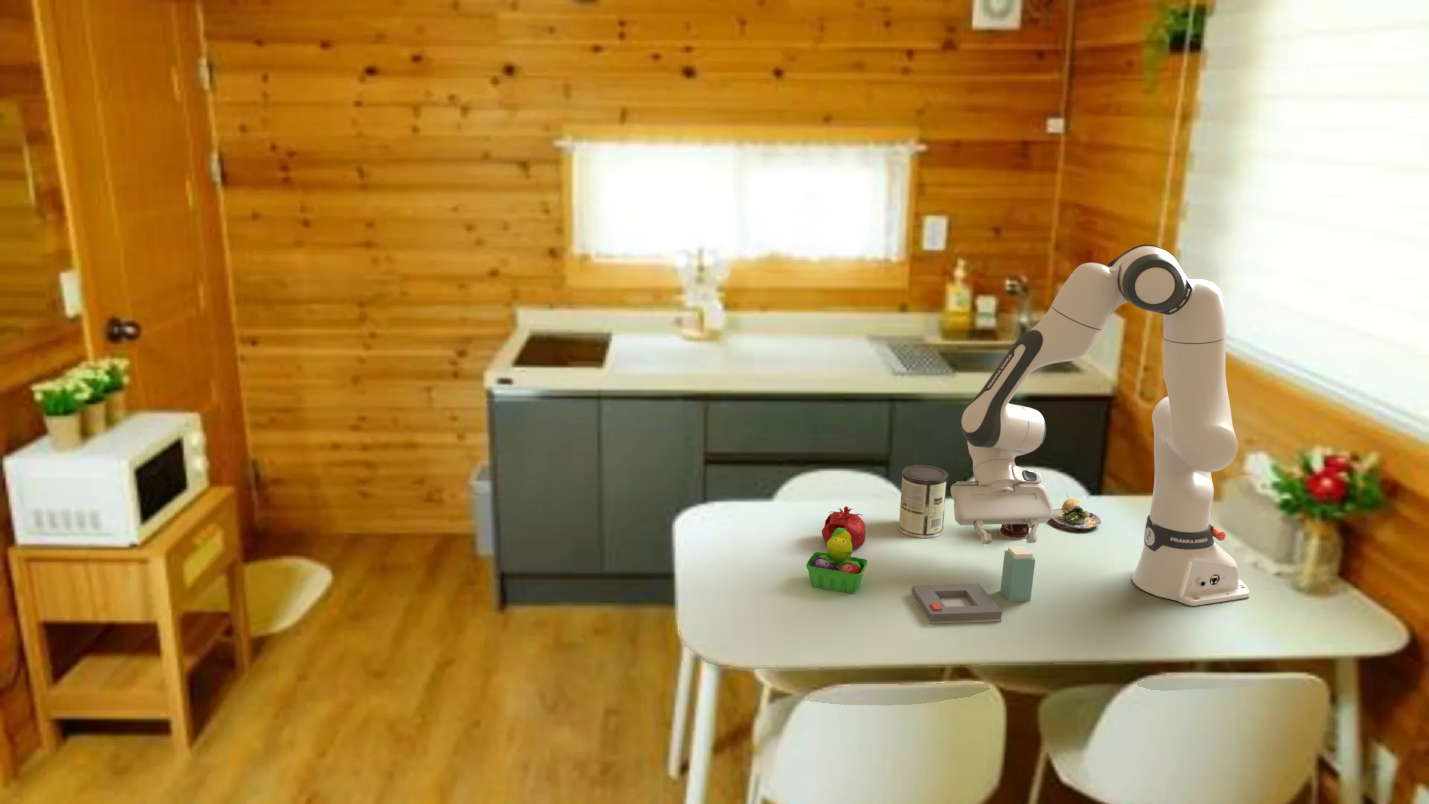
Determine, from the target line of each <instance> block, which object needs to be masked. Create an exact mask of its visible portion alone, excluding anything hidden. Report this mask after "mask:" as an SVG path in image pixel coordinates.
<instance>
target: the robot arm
mask: <svg viewBox="0 0 1429 804" xmlns="http://www.w3.org/2000/svg"><path fill="white" fill-rule="evenodd" d="M1128 302H1129V303H1130V304H1132V305H1133V306H1134V307H1136V308H1139V309H1141V310H1144V311H1147V312H1153V313H1157V314H1162V319H1163V339H1162V340H1163V346H1162V347H1163V349H1162V350H1163V352H1162V353H1163V354H1162V356H1163V357H1162V358H1163V359H1162V360H1163V361H1162V362H1163V363H1162V364H1163V367H1162V369H1163V371H1162V372H1163V373H1162V376H1163V381H1164V382H1165V387H1166V391H1167V396H1165V397H1164V398H1161V400H1159V402H1157V404H1156V405H1155V406H1154V409H1153V411H1152V414H1151V420H1152V427H1153V460H1154V461H1153V463H1154V464H1153V465H1154V483H1153V490H1152V491H1153V492H1152V499H1151V504H1150V505H1151V506H1150V511H1149V514H1148V515H1147V517H1146V522H1145V528H1144V536H1143V548H1142V551H1141V554H1140V558H1139V560H1138V563H1137V566H1136V567H1135V570H1134V571H1133V573H1132V575H1131V581H1132V583H1134V585H1135V586H1136V587H1138V588H1139V589H1140V590H1142V591H1145V592H1147V593H1148V594H1151V595H1154V596H1156V597H1160V598H1163V599H1168V600H1173V601H1177V602H1179V603H1181V604H1184V605H1187V606H1192V607H1195V606H1203V605H1208V604H1209V605H1210V604H1215V603H1221V602H1222V603H1223V602H1228V601H1229V602H1230V601H1234V600H1241V599H1247V598H1249V597H1250V590H1249V589H1250V588H1249V587H1248V586H1247V585H1246V584H1245V582H1244V581H1242V580H1241V579H1240V577H1239V576H1240V574H1239V573H1240V572H1239V567H1238V564H1237V562H1236V560H1235V559H1234V558H1233V557H1232V556H1231V555H1230V554H1229V553H1227V552H1226V551H1225V550H1224V549H1223V548H1222V547H1221V546H1220V545H1218V544H1217V543H1216V542H1215V541H1214V538H1215V539H1216V540H1218V541H1219V542H1220V541H1221V542H1222V541H1224V540H1225V539H1226V538H1227V533H1226V532H1225V531H1223V530H1222V529H1220V528H1215V526H1213V525H1212V524H1211V523H1210V518H1211V512H1212V505H1213V500H1214V493H1215V489H1214V483H1213V480H1212V473H1213V472H1215V473H1216V472H1220V471H1221V470H1225V468H1227V467H1229V466H1230V465H1231V464H1232V463H1233V462H1234V460H1236V457H1237V455H1238V451H1239V442H1238V439H1237V436H1236V433H1235V429H1234V425H1233V417H1232V409H1231V404H1230V398H1229V392H1228V387H1227V386H1228V385H1227V376H1226V375H1227V373H1226V363H1227V362H1226V361H1227V360H1226V357H1227V352H1226V351H1227V344H1226V343H1227V320H1226V310H1225V305H1224V299H1223V293H1222V291H1221V290H1220V288H1219V287H1218V286H1217V285H1216V284H1215V283H1214V282H1212V281H1208V280H1206V279H1199V278H1197V279H1196V278H1195V279H1189V278H1188V277H1187V275H1186V274H1185V273H1184V271H1183V269H1182V267H1181V266H1180V264H1179V263H1178V262H1177V260H1176V258H1175V257H1174V256H1173V255H1172V254H1171V253H1169V252H1168V251H1166V250H1165V249H1164V248H1162V247H1160V246H1158V245H1155V244H1146V243H1144V244H1139V245H1135V246H1134V247H1131V248H1129V249H1128V250H1126V251H1125V252H1123V253H1122V254H1120V255H1119V256H1118V257H1116V258H1114V259H1113V260H1111V261H1109V263H1108V264H1107V265H1104V264H1102V263H1098V262H1085V263H1082V264H1080V265H1079V266H1077V267H1076V268H1075V269H1074V270H1073V272H1072V273H1071V274H1070V276H1068V278H1067V279H1066V281H1065V282H1064V283H1063V285H1062V287H1061V288H1060V289H1059V291H1058V293H1057V295H1056V296H1055V298H1054V300H1053V301H1052V303H1051V305H1050V307H1049V309H1048V310H1047V312H1046V313H1045V315H1044V316H1043V317H1042V318H1041V320H1039V322H1037V324H1036V325H1034V326H1033V327H1032V328H1031V329H1029V330H1028V331H1026V332H1024V333H1023V334H1021V335H1020V336H1019V337H1018V338H1017V340H1016V341H1015V342H1014V343H1013V344H1012V346H1011V347H1010V349H1008V351H1007V353H1006V354H1005V355H1004V357H1003V359H1001V361H1000V362H999V364H998V365H997V367H996V369H995V370H994V371H993V373H992V374H991V375H990V377H989V379H988V380H987V381H986V383H984V386H983V387H982V389H981V390H980V391H979V392H978V393H977V394H976V395H975V396H974V397H973V398H972V399H971V400H970V401H969V402H968V404H967V405H966V406H965V407H964V409H963V411H962V413H961V416H960V428H961V431H962V434H963V436H964V438H965V439H966V443H967V448H968V453H969V456H970V457H971V459H972V473H973V477H974V478H973V479H974V480H967V481H960V480H958V481H956V482H955V483H953V484H952V485H951V486H950V495H951V498H952V500H953V511H954V512H953V513H954V520H955V522H956V523H957V524H958V525H960V526H973V529H974V531H975V532H976V533H977V535H978V536H979V537H980V538H981V543H982V545H991V544H992V542H993V538H992V533H987V531H986V529H984V525H1002V524H1028V528H1029V529H1030V530H1029V533H1028V534H1027V535H1026V536H1025V537H1026V538H1025V539H1026V543H1027V544H1036V542H1037V535H1036V532H1037V531H1038V530H1037V529H1038V527H1039V524H1046V523H1049V520H1050V519H1051V517H1052V516H1053V510H1054V509H1053V505H1052V501H1051V497H1050V495H1049V492H1048V491H1047V489H1046V488H1045V486H1044V485H1042V484H1041V482H1042V481H1043V477H1042V475H1041V473H1039V472H1037V471H1033V470H1029V469H1027V468H1023V467H1020V466H1017V465H1016V462H1015V458H1016V457H1021V456H1024V455H1027V454H1030V453H1032V452H1034V451H1036V450H1038V449H1039V448H1040V447H1041V446H1042V444H1043V443H1044V440H1045V439H1046V436H1047V424H1046V421H1045V420H1046V419H1045V418H1044V415H1043V414H1042V413H1041V412H1040V411H1039V410H1038V409H1034V408H1032V407H1029V406H1024V405H1020V404H1013V403H1009V402H1010V401H1011V400H1012V399H1013V397H1014V396H1015V394H1016V393H1017V391H1018V390H1019V388H1020V387H1021V385H1022V384H1024V383H1023V382H1024V381H1025V380H1026V379H1027V377H1028V376H1029V375H1030V374H1031V373H1032V372H1034V371H1036V370H1038V369H1039V368H1042V367H1045V366H1048V365H1052V364H1057V363H1064V362H1070V361H1071V362H1072V361H1074V360H1079V359H1080V358H1082V357H1084V356H1086V355H1087V354H1089V353H1090V351H1091V350H1092V349H1093V348H1094V347H1095V345H1096V344H1097V342H1098V341H1099V339H1100V337H1101V335H1102V333H1103V331H1104V330H1105V327H1106V325H1107V324H1108V322H1109V320H1110V318H1111V316H1112V315H1113V314H1114V312H1115V311H1116V310H1117V309H1118V308H1119V307H1120V306H1122V305H1124V304H1126V303H1128Z"/></svg>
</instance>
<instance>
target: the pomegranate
mask: <svg viewBox="0 0 1429 804" xmlns="http://www.w3.org/2000/svg"><path fill="white" fill-rule="evenodd" d="M853 509H854V508H849V507H848V506H844V507H843V509H842V508H838V510H839V511H832V512H831V513H830V514H829V515H827V516H826V517H827V518H826V519H825V521H824V527H823V528H822V529H821V534H822V539H823V540H824V542H825V543H826V544H827V542H828V540H829V539H830V538H831V537H832V534H833V533H834V531H835V530H836V529H837V528H846V531H847V532H848V533H849V534H850V535H851V543H852V551H853V550H855V549H859V548H861V547H862V546H863V545H864V544H865V541H866V525H865V522H864V520H863V519H862V518H861V517H860V516H862V514H861V513H850V512H851V511H852V510H853Z"/></svg>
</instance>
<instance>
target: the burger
mask: <svg viewBox="0 0 1429 804" xmlns="http://www.w3.org/2000/svg"><path fill="white" fill-rule="evenodd" d="M1066 495H1067V498H1068V499H1065V501H1063V503H1062V505H1061V508H1058V509H1053V516H1052V517H1051V519H1050V520H1049V521H1048V523H1049V524H1050V525H1051V526H1052V527H1054V528H1055V529H1058V530H1062V531H1066V532H1069V533H1072V534H1073V533H1075V531H1077V530H1090V529H1093V528H1095V527H1098V526H1099V525H1101V524H1102V521H1101V519H1100V518H1099V516H1097V515H1096V514H1094V513H1092V512H1088V511H1086V510H1083V507H1080V505H1079V503H1080V500H1079V499H1075V498H1069V496H1068V492H1066Z"/></svg>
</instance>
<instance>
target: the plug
mask: <svg viewBox="0 0 1429 804" xmlns="http://www.w3.org/2000/svg"><path fill="white" fill-rule="evenodd" d="M1002 563H1003V565H1002V572H1001V573H1002V574H1001V583H1000V592H1001V594H1002V596H1003V597H1005V599H1006V600H1007V601H1008V602H1028V601H1031V599H1032V592H1033V591H1032V589H1033V582H1034V576H1035V575H1034V574H1035V568H1036V567H1035V566H1036V558H1035V557H1034V554H1033V552H1032V551H1030V550H1029V549H1028V547H1027V546H1026V545H1023V546H1022V545H1021V546H1020V545H1019V546H1008V547H1007V550H1006V549H1005V550H1004V554H1003V562H1002Z"/></svg>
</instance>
